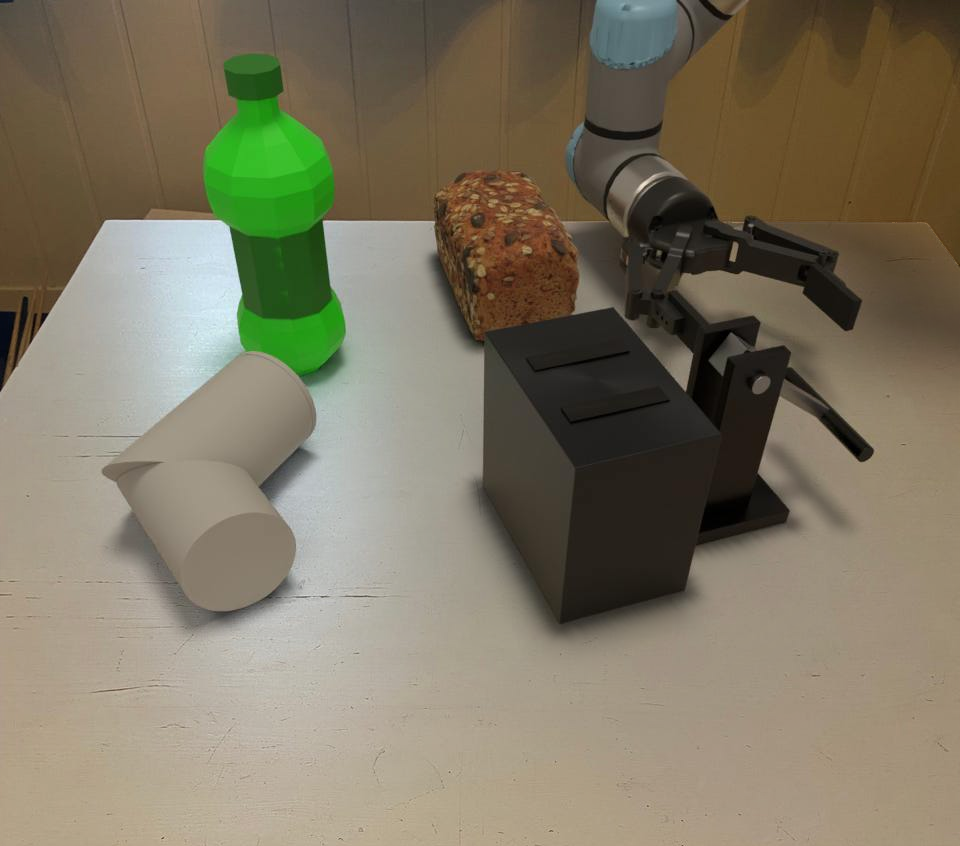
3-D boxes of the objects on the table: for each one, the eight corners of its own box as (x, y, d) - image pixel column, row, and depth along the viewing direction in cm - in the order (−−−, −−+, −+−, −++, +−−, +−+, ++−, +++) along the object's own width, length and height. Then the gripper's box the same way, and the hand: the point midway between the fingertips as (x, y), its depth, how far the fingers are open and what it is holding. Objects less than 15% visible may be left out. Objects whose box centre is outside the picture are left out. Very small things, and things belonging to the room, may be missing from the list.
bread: (576, 338, 94) (585, 237, 86) (467, 350, 92) (467, 248, 84) (528, 245, 106) (532, 149, 98) (431, 254, 104) (428, 158, 96)
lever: (780, 388, 79) (801, 364, 78) (858, 470, 72) (883, 445, 71) (678, 328, 71) (700, 300, 70) (756, 413, 64) (781, 384, 63)
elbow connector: (69, 471, 78) (161, 628, 67) (57, 348, 71) (158, 501, 60) (274, 439, 87) (385, 572, 76) (281, 328, 80) (404, 457, 69)
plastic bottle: (254, 327, 94) (200, 37, 76) (362, 333, 94) (335, 42, 75) (227, 387, 88) (160, 86, 69) (343, 394, 87) (307, 92, 68)
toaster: (595, 460, 81) (613, 304, 71) (685, 590, 71) (722, 432, 61) (482, 486, 79) (484, 329, 68) (559, 624, 69) (575, 466, 59)
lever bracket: (735, 461, 81) (777, 297, 70) (786, 521, 76) (840, 356, 65) (626, 487, 79) (652, 322, 68) (672, 551, 74) (707, 385, 63)
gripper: (767, 233, 98) (896, 343, 85) (537, 275, 92) (637, 400, 79) (785, 156, 92) (926, 261, 79) (542, 195, 86) (650, 316, 73)
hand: (782, 331), depth 79 cm, fingers open, 13 cm apart
